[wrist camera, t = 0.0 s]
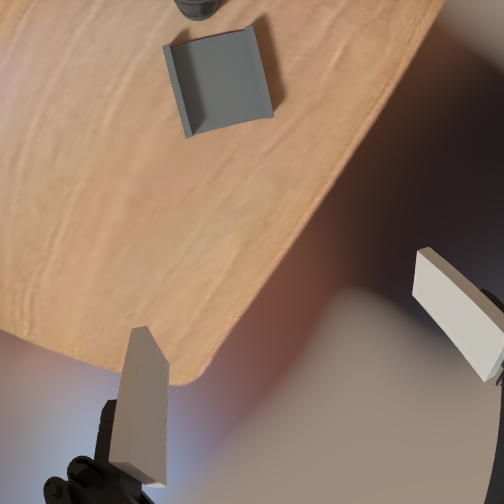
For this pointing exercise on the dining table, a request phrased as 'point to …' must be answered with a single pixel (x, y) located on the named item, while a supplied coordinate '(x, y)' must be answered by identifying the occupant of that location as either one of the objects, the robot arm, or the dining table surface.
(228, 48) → the cradle
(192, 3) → the beverage cup
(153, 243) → the dining table surface
